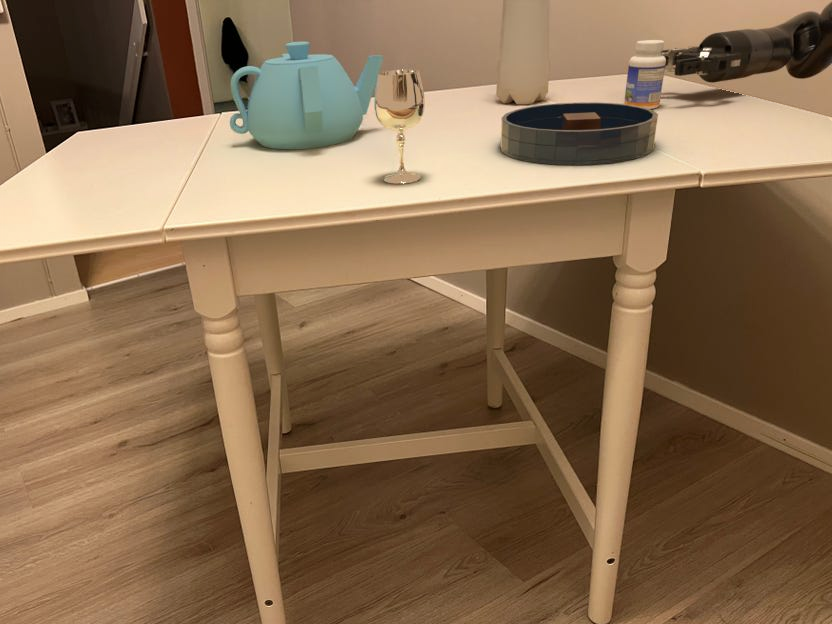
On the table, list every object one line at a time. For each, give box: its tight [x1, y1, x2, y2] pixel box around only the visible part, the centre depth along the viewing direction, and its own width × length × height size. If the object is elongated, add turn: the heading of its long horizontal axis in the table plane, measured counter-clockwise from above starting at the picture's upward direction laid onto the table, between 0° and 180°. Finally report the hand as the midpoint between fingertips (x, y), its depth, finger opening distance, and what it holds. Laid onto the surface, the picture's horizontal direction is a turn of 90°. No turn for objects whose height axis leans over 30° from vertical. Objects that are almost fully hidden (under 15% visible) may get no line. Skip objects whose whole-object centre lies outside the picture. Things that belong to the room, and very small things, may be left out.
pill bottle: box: [623, 39, 666, 110], centre depth 111 cm, size 5×5×10 cm
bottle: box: [495, 0, 551, 105], centre depth 119 cm, size 9×9×30 cm
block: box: [562, 112, 601, 130], centre depth 89 cm, size 4×4×4 cm
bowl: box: [500, 101, 659, 166], centre depth 92 cm, size 19×19×4 cm
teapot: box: [229, 41, 384, 150], centre depth 107 cm, size 19×19×14 cm
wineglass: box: [374, 68, 426, 185], centre depth 82 cm, size 6×6×12 cm
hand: (656, 66), depth 111 cm, fingers open, 8 cm apart
